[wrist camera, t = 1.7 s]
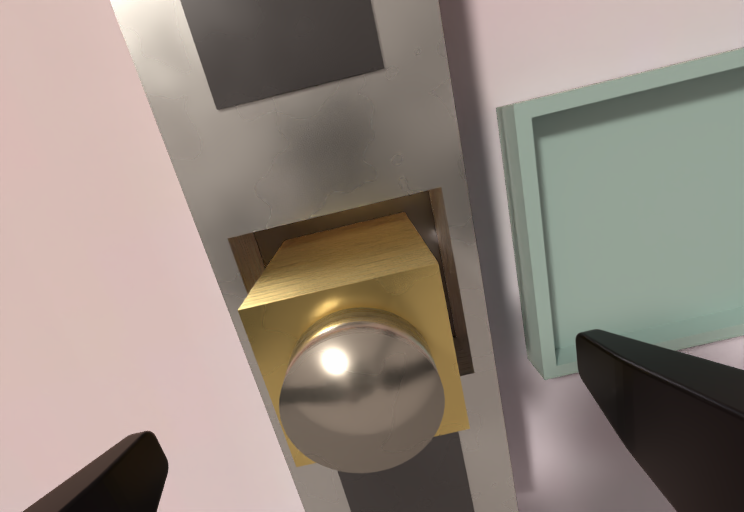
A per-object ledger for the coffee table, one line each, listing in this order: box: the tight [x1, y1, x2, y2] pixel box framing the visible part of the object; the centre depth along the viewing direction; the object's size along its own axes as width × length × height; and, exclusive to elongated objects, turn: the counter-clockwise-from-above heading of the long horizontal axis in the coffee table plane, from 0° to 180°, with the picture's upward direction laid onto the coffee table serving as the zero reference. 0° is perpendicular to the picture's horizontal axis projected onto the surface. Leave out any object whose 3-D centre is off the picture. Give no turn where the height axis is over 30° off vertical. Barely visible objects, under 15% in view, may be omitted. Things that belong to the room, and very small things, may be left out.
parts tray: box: [496, 47, 744, 380], centre depth 14 cm, size 10×10×2 cm
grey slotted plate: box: [110, 0, 518, 512], centre depth 13 cm, size 8×24×3 cm, turn 13°
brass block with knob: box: [238, 212, 470, 473], centre depth 11 cm, size 4×4×7 cm
